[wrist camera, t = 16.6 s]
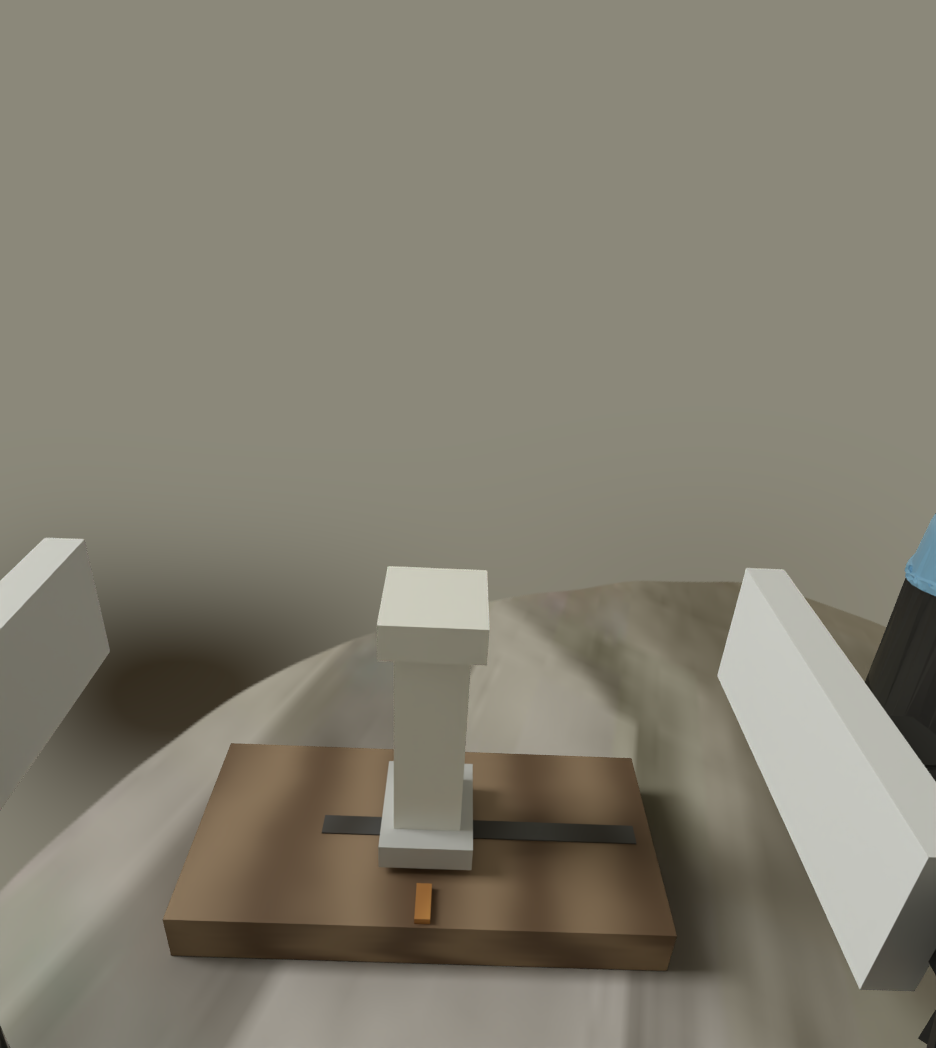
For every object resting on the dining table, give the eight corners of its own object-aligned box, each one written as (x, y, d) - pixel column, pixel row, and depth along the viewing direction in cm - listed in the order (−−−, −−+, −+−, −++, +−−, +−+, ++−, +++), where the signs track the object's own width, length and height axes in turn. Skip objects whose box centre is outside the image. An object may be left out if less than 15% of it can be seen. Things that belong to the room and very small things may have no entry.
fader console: (623, 787, 50) (631, 750, 48) (666, 970, 39) (678, 931, 37) (236, 773, 49) (231, 735, 48) (171, 955, 38) (161, 914, 37)
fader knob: (471, 783, 45) (486, 565, 38) (471, 870, 40) (489, 636, 32) (389, 780, 45) (388, 561, 37) (378, 867, 40) (375, 632, 32)
